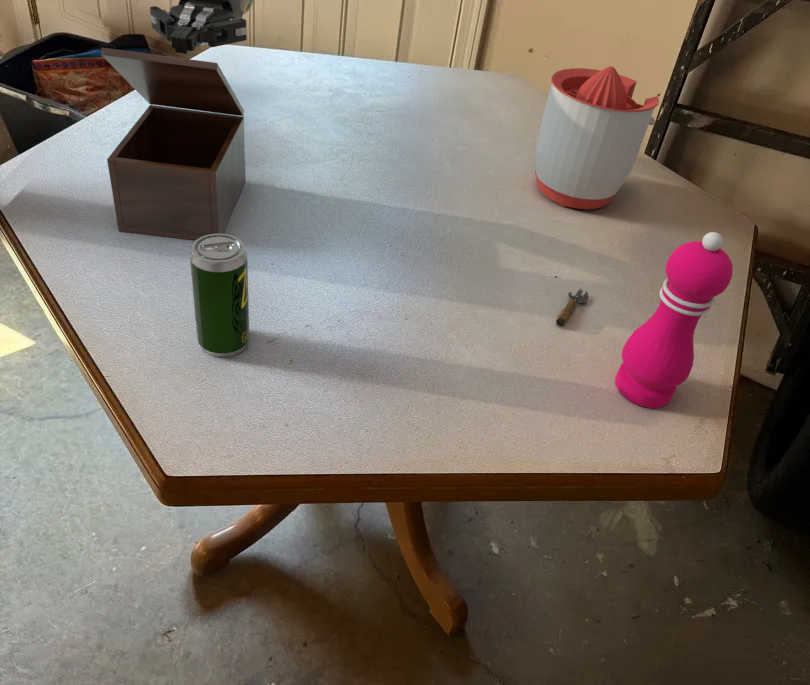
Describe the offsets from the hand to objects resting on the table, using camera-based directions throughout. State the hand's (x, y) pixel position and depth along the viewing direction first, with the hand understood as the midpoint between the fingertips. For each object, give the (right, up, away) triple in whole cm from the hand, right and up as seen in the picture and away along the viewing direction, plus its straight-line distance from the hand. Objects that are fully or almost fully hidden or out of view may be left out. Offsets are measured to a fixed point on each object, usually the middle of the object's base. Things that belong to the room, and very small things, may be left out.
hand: (180, 45), depth 85 cm
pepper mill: (+53, -41, -7) cm, 68 cm away
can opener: (+48, -32, +3) cm, 57 cm away
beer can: (+8, -36, -10) cm, 38 cm away
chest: (-3, -17, +10) cm, 20 cm away
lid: (-1, -5, +2) cm, 5 cm away
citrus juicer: (+54, -12, +28) cm, 62 cm away
